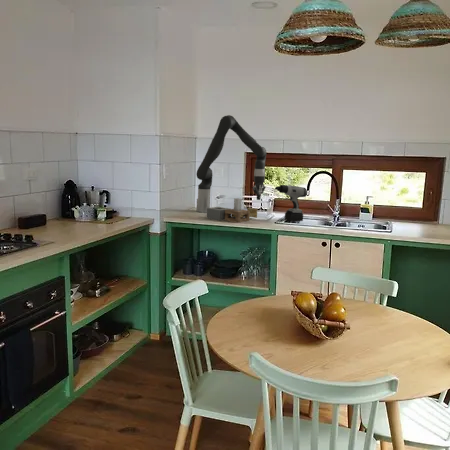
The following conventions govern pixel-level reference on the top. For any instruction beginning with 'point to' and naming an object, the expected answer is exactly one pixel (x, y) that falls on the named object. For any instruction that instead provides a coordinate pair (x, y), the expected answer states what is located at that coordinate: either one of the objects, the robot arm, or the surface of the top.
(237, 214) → the socket block
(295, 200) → the cordless drill
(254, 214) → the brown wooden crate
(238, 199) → the steel peg
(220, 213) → the grey square box
